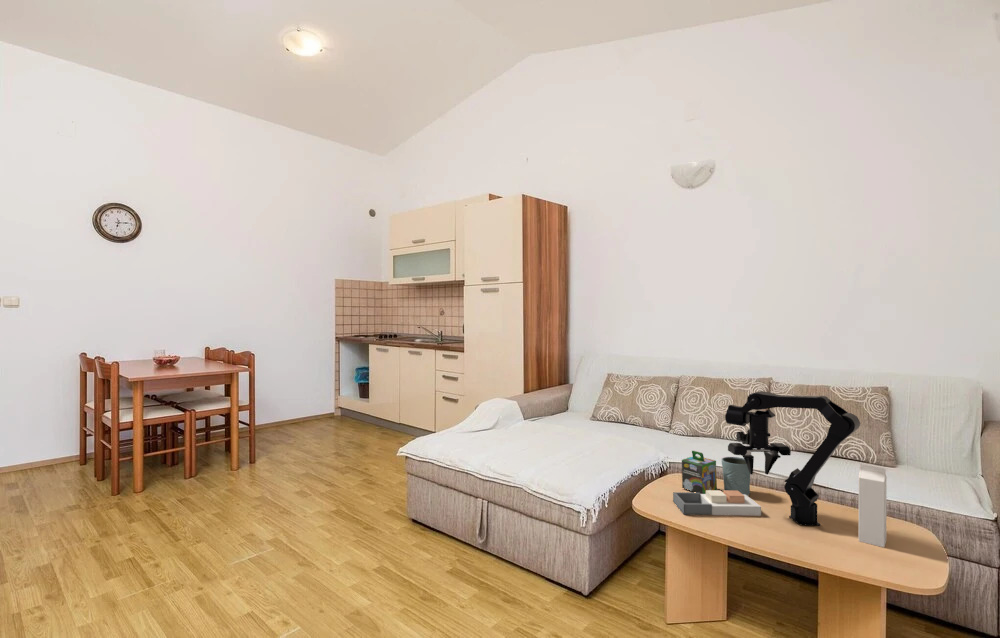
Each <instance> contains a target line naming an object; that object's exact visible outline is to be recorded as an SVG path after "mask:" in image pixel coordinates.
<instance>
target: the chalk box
mask: <svg viewBox="0 0 1000 638" xmlns="http://www.w3.org/2000/svg"><path fill="white" fill-rule="evenodd" d="M691 455H692V456H689V457H687V458H683V459H681V484H682V485H681V486H682V487H681V488H685V489H688V490H690V491H689V492H691V491H693V492H696V493H700V494H706V490H718V489H717V488H718V487H717V485H718V484H717V460H715V459H711V458H707V457H704V454H703V452H700V451H696V450H691ZM698 455H699V456H698ZM685 489H684V490H685ZM688 490H687V491H688Z"/></svg>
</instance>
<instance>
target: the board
mask: <svg viewBox="0 0 1000 638" xmlns="http://www.w3.org/2000/svg"><path fill="white" fill-rule="evenodd" d="M743 495H744V496H745V503H729V502H728V501H727V503H711V502H710V501H709V500H708V499H707V498H706V494H700V502H701V503H702V504H712V515H711V516H752V517H753V516H756V517H757V516H759V517H760V516H762V506H761V505H760V504H758V503H757V502H756V501H755V500H754V499H752V498H751V497H749V495H748V496H747V495H746V494H743Z"/></svg>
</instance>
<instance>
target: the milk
mask: <svg viewBox="0 0 1000 638" xmlns="http://www.w3.org/2000/svg"><path fill="white" fill-rule="evenodd" d="M887 478H888V477H887V474H886V468H884V467H881V466H880V467H879V466H878V467H877V466H873V465H868V464H860V465H859V473H858V542H861V543H865V544H868V545H873V546H875V547H876V546H877V547H880V548H885V546H886V543H887Z"/></svg>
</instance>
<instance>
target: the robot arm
mask: <svg viewBox="0 0 1000 638" xmlns="http://www.w3.org/2000/svg"><path fill="white" fill-rule="evenodd" d="M746 399H747V400H746V402H745V403H744V404H743V405H742V406H741V405H740V406H739V405H734V404H728V406H727V410H726V412H725V415H724V419H725V422H726V424H728V425H733V426H734V425H735V426H740V427H745V426H747V425H749V428H748V429H747V431H746V433H744V431H737V432H736V441H737V442H730V443H729V444H728V445H727V451H728V452H729V453H731V454H733V455H735V456H742V458H744V460H745V462H746V464H747V467H748V470H749V472H750V475H753V473H754V462H755V461H754V460H755V456H754V455H752V453H753V452H754V453H755V452H757V453H761V452H763V454H764V455H763V456H764V474H765V475H769V473H770V471H771V469H772V468H773V466H774V465H775V463H776V462H777V460H778V459H780V458H781V456H791V455H792V451H791V448H790V447H789V446H788V445H786V444H784V443H782V442H772V443H770V445H769V438H770V437H771V433H770V432H769V419H772V418H775V417H776V414H775V413H774V412H773V411H772V410H771V409H774V408H790V409H807V410H808V409H809V410H817V411H818V412H820V414H821V415H822V416H823V417H824V419H826V421H827V422H829V423H830V425H829V428H828V429H827V430H828V431H827V434H826V436H825V438H824V439H823V441H822V442H821V443H820V445H819V446H818V447H817V449H816V450H815V451H814V453H813V454H812V456H811V457H810V458H809V459H808V461H806V463H805V465H804V466H803V468H802V469H801V470H800V469H799V468H798V467H797V468H796V469H794V470H793V471H790V473H789V476H788V478H786V479H785V480H784V481H783V482H784V490H785V492H786V494H787V495H788V497H789V499H790V501H791V505H790V515H788V517H789V518H790V519H791V520H792V521H793V522H795V523H796V524H797V525H799V526H818V527H819V526H821V522H819V521H818V503H817V501H818V499H819V497H820V495H819V494H818V493H817V491H816V490H815V489H814V488H813V484H814V483H815V479H816V476H817V474H819V472H820V471H821V469H823V467H824V466H825V465H826V463H827V461H828V460H829V459H830V457H831V456H832V455H833V454H834V453H835V451H836V450H837V449H838V447H840V445H841V444H842V442H844V441H845V440H847V439H848V438H849V437H850V436H851V435H853V434H854V433H855V432H856V431H857V430H858V429H859V428H860V426H861V421H860V419H859V417H858V416H857V415H856V414H853V413H851V412H848V411H846V410H845V409H844V408H843V407H842V406H839V404H837V403H835V402H833V401H832V400H831V399H830V398H829V397H827V396H826V395H818V396H817V395H816V396H815V395H783V394H776V393H772V392H769V391H762V390H759V391H755V392H752V393H750V394H749V395H748V396H747V398H746ZM754 410H755V411H754ZM741 442H742V443H741Z"/></svg>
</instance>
